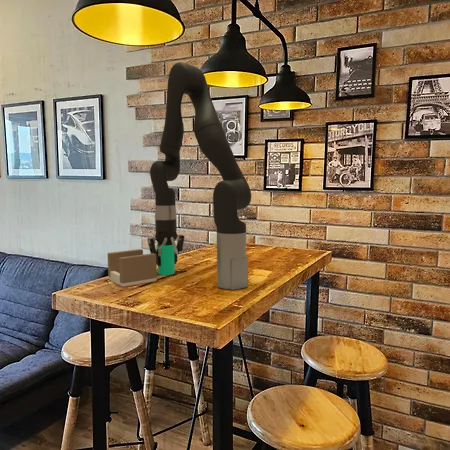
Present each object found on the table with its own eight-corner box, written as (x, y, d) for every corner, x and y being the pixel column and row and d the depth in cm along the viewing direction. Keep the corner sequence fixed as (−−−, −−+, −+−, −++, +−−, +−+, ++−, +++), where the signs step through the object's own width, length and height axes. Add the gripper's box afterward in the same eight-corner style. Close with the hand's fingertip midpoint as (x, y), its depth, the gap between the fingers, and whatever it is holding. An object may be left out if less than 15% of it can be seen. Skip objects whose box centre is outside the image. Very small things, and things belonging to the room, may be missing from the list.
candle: (171, 275, 145) (171, 241, 143) (155, 274, 146) (154, 241, 145) (177, 271, 151) (176, 238, 149) (161, 270, 152) (160, 238, 150)
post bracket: (156, 280, 137) (156, 254, 136) (122, 286, 130) (121, 258, 129) (141, 274, 147) (140, 249, 146) (108, 279, 140) (107, 252, 139)
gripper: (152, 220, 139) (153, 269, 141) (188, 217, 147) (189, 264, 149) (142, 218, 145) (143, 265, 147) (178, 215, 153) (179, 260, 155)
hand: (166, 264), depth 148 cm, fingers closed on candle, 5 cm apart
